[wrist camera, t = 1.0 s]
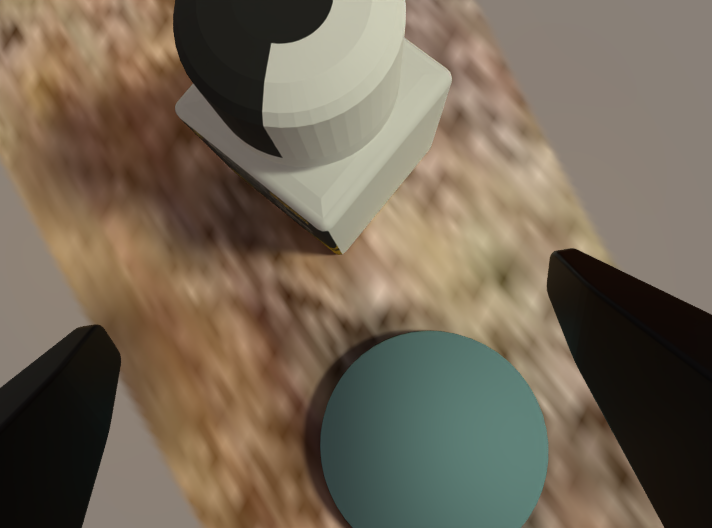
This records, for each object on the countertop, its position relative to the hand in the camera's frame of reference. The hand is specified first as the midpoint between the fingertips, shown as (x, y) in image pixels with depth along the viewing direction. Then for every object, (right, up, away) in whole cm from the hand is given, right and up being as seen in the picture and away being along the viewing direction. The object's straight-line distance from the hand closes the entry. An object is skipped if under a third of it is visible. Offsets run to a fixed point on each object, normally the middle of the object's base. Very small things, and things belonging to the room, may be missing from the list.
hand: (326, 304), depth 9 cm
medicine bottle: (-1, +6, +14) cm, 15 cm away
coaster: (+4, -7, +12) cm, 15 cm away
